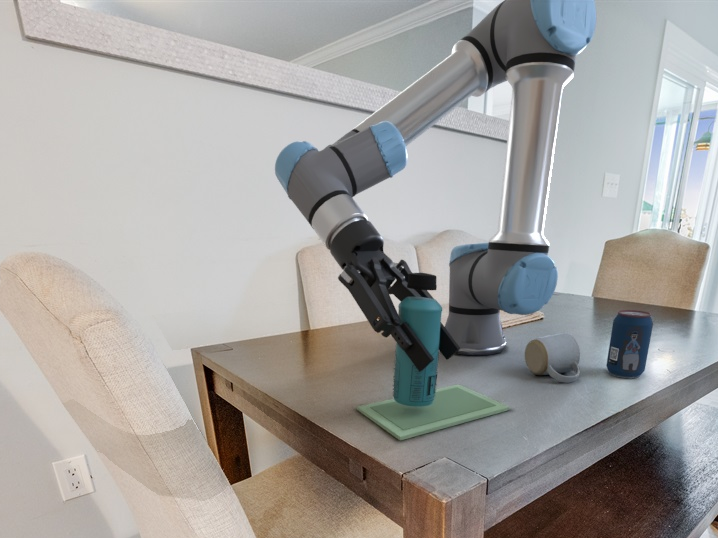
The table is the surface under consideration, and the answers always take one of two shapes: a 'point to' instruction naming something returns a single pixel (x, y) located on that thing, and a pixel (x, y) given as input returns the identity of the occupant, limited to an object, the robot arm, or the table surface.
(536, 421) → the table surface
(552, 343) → the ceramic mug
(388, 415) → the scrub mat
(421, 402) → the beverage bottle
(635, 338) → the soda can
